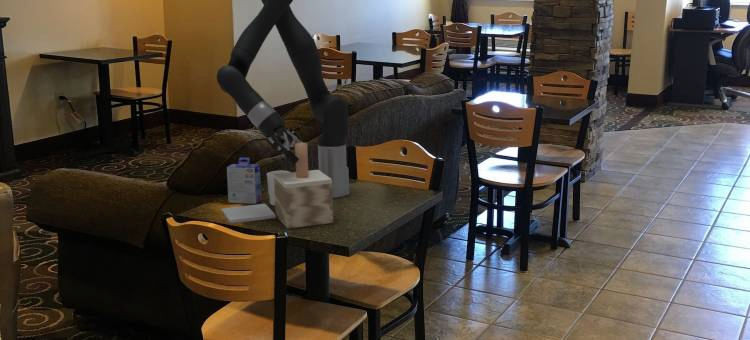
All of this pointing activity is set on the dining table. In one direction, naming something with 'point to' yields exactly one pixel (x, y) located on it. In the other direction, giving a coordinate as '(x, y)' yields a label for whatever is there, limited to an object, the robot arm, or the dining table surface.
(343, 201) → the dining table surface
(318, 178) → the lid
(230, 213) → the plate
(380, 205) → the dining table surface
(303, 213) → the box
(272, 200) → the white cup
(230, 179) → the ink cartridge box
